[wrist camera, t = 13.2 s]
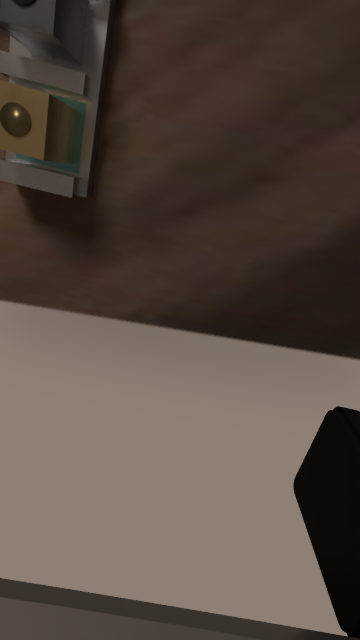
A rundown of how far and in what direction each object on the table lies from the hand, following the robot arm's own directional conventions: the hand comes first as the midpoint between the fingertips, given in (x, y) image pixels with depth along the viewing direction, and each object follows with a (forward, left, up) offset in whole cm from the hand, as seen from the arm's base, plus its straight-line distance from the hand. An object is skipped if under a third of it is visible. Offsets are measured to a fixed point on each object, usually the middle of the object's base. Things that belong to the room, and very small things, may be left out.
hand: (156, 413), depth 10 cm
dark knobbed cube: (+14, -15, -28) cm, 35 cm away
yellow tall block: (+14, -7, -28) cm, 32 cm away
